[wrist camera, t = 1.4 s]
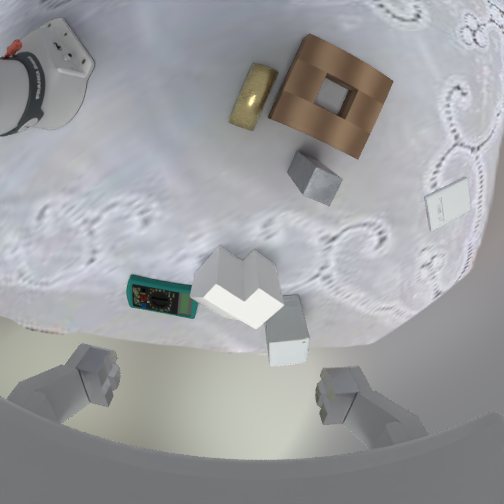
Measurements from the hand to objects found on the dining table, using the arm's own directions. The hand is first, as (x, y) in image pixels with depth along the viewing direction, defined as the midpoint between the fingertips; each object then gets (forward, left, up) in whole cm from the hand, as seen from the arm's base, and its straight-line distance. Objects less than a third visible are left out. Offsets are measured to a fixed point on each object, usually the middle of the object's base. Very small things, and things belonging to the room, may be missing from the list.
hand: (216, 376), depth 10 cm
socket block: (-5, +19, -40) cm, 44 cm away
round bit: (-9, +7, -40) cm, 41 cm away
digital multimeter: (+19, -23, -40) cm, 50 cm away
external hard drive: (+22, +40, -40) cm, 61 cm away
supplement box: (+32, -2, -40) cm, 51 cm away
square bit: (+5, +11, -40) cm, 41 cm away
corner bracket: (+19, -7, -40) cm, 45 cm away
